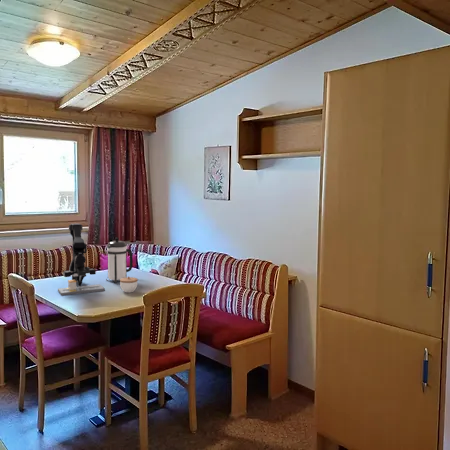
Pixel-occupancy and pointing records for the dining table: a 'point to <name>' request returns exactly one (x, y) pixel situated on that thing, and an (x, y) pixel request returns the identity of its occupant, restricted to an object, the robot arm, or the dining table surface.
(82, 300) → the dining table surface
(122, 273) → the coffee press
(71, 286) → the block
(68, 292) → the console board
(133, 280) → the lidded jar
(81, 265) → the robot arm
